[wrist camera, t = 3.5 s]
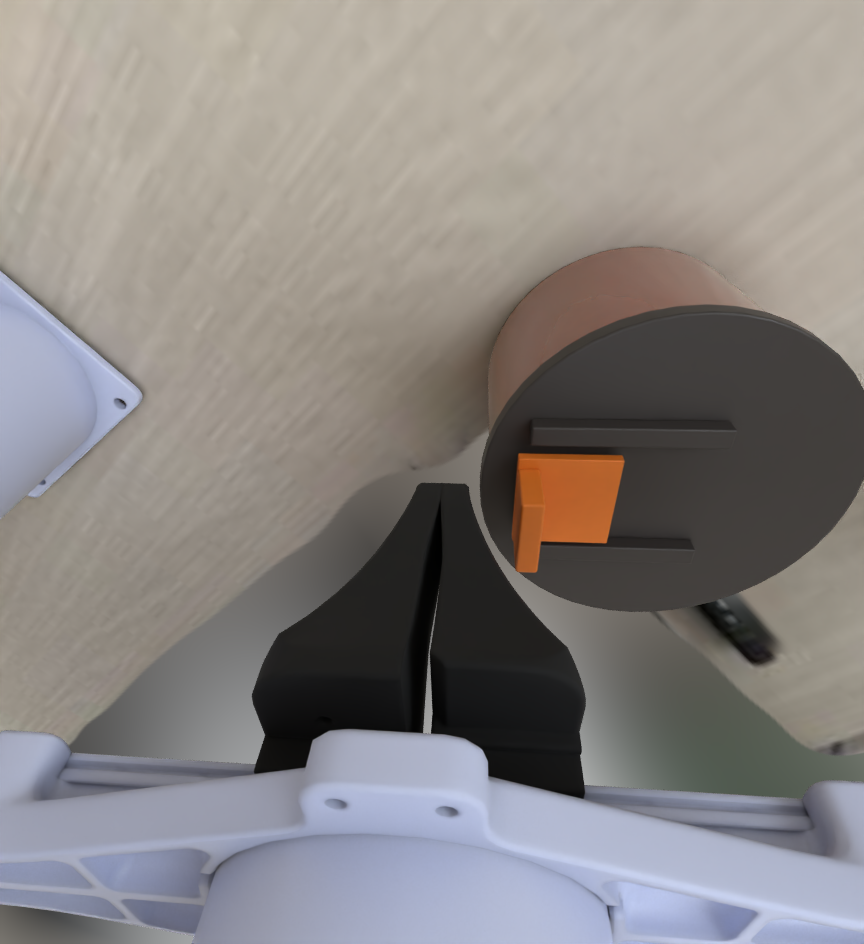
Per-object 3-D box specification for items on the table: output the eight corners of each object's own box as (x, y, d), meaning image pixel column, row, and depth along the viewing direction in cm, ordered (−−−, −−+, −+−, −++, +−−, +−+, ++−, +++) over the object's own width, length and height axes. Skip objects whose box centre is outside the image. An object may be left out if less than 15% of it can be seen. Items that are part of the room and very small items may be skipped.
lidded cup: (477, 483, 25) (476, 617, 19) (483, 238, 19) (485, 319, 13) (716, 488, 24) (796, 630, 18) (805, 235, 18) (974, 319, 12)
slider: (511, 534, 17) (514, 580, 15) (517, 452, 15) (522, 496, 13) (604, 536, 17) (617, 584, 15) (622, 454, 15) (638, 498, 13)
